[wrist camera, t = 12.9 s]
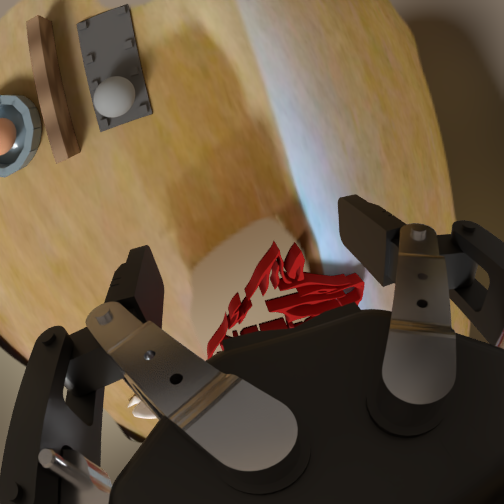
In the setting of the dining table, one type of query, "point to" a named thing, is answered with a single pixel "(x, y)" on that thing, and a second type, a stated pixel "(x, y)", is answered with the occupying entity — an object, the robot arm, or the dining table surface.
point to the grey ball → (114, 96)
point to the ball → (6, 135)
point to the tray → (113, 60)
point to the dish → (20, 132)
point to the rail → (50, 89)
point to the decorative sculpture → (292, 305)
